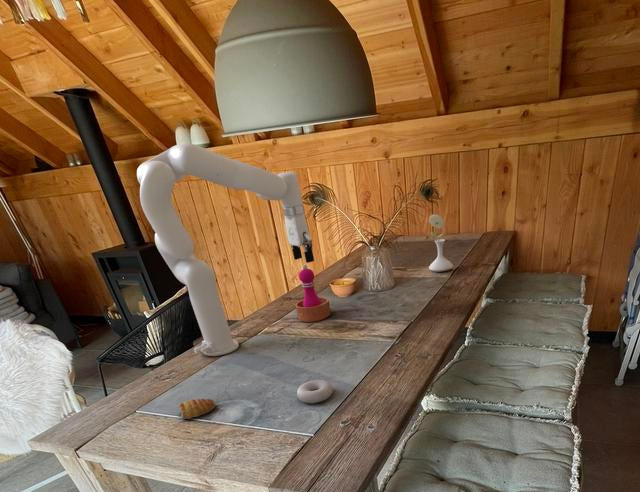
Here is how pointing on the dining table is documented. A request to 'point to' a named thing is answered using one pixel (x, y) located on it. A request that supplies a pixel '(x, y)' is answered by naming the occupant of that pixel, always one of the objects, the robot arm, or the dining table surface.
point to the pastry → (195, 407)
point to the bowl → (313, 311)
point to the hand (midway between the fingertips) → (304, 260)
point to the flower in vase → (439, 246)
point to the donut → (314, 391)
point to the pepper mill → (309, 288)
